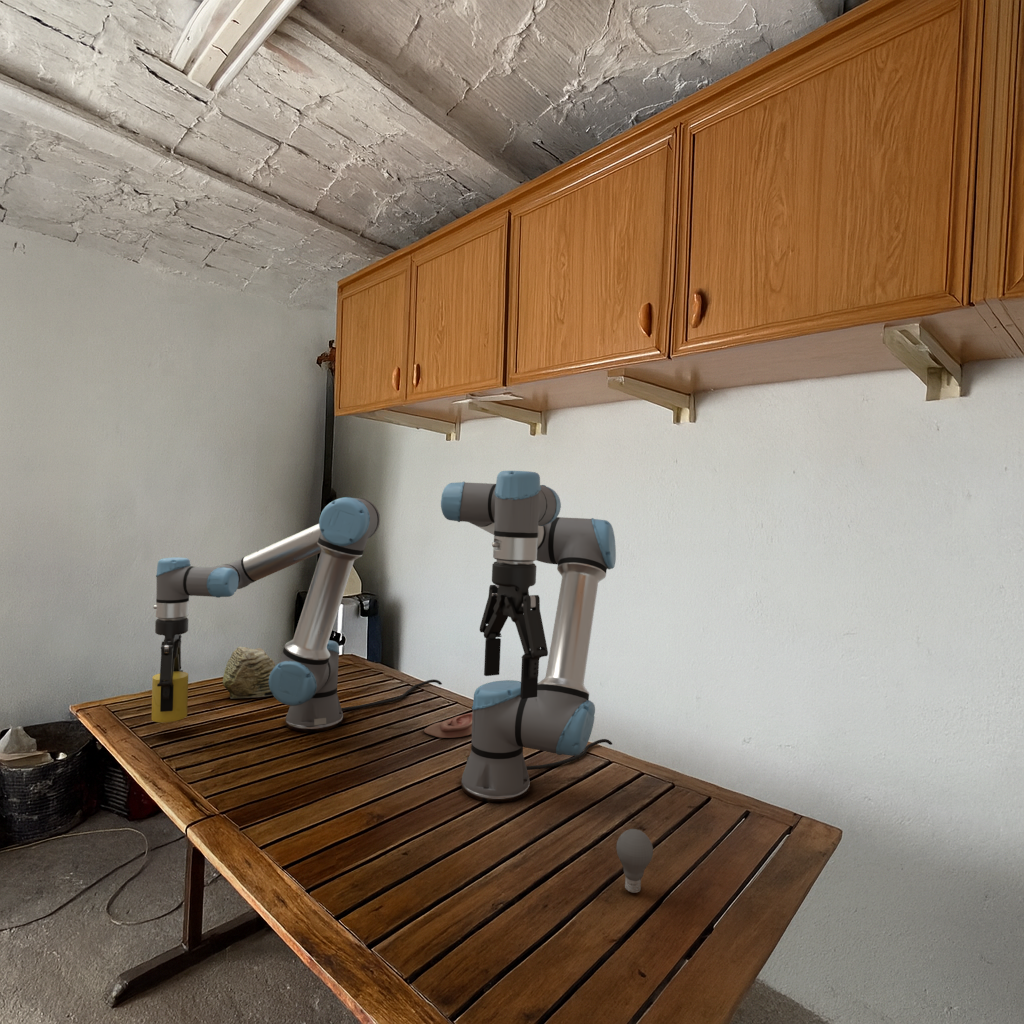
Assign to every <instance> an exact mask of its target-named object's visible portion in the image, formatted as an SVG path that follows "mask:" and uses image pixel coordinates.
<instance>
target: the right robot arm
mask: <svg viewBox="0 0 1024 1024" xmlns="http://www.w3.org/2000/svg"><path fill="white" fill-rule="evenodd" d="M559 496H560V495H559V494H558V493H557V492H556V491H555V490H554V489H553V488H551V487H549V486H547V485H545V484H541V476H540V474H539V473H538V472H536V471H527V470H501V471H499V473H498V474H497V475H496V482H495V483H485V482H483V483H482V482H466V481H461V482H460V481H459V482H458V481H457V482H449V483H448V484H446V485H445V487H444V488H443V490H442V493H441V499H440V509H441V513H442V515H443V517H444V518H445V519H446V520H448V521H453V522H457V523H461V522H465V523H468V524H469V523H470V524H472V525H473V526H476V527H478V528H480V529H482V530H483V531H485V532H487V533H489V534H490V535H492V536H493V542H492V543H491V545H492V548H493V549H492V551H493V553H492V558H493V559H494V560H496V561H494V562H493V563H492V565H491V566H492V569H491V582H492V583H493V584H490V585H489V587H488V597H487V601H486V603H485V607H484V611H483V615H482V619H481V622H480V625H479V632H480V633H483V637H484V639H485V642H484V643H485V644H484V646H485V647H484V664H483V665H484V669H483V676H485V677H491V676H500V670H501V669H500V668H501V667H500V665H501V646H502V645H501V644H502V639H501V638H502V633H501V631H502V630H503V628H504V626H505V624H506V622H507V620H508V618H510V619H511V622H513V623H514V625H515V627H516V631H517V634H518V638H519V640H520V643H521V647H522V651H523V654H522V656H521V670H520V671H521V673H520V680H513V679H512V680H511V679H509V680H508V679H505V680H495V681H491V682H487V683H484V684H481V685H480V686H478V687H477V688H476V689H475V690H474V692H473V700H472V706H471V709H472V712H471V713H472V734H471V744H470V752H469V756H468V757H466V764H465V767H464V770H463V772H462V774H461V790H462V791H463V793H465V794H466V795H468V796H469V797H471V798H473V799H476V800H479V801H481V802H487V803H488V802H489V803H508V802H512V801H517V800H519V799H522V798H523V797H525V796H527V794H528V793H529V791H530V784H531V783H530V782H531V781H530V775H529V771H533V770H542V769H548V768H554V767H558V766H563V765H565V764H568V763H572V762H574V761H577V760H579V759H581V758H583V757H584V756H585V755H586V754H587V753H588V750H589V749H590V748H592V747H594V746H597V745H599V744H603V743H606V744H608V745H610V746H611V745H613V742H612V741H611V740H609V739H608V738H601V739H597V740H595V741H593V742H591V743H589V741H590V738H591V736H592V735H591V734H592V732H593V727H594V723H595V713H596V705H595V704H594V702H593V701H591V700H590V692H589V691H588V689H587V688H586V686H585V678H586V670H587V663H588V656H589V650H590V644H591V637H592V630H593V629H592V628H593V622H594V615H595V608H596V601H597V595H598V588H599V583H600V582H601V581H603V580H604V579H606V577H607V570H613V569H614V568H615V566H616V559H617V549H616V547H617V546H616V537H615V531H614V528H613V525H612V523H611V522H610V521H608V520H606V519H598V518H594V517H592V518H584V517H581V518H580V517H565V516H563V517H562V516H559V515H560V512H561V508H562V502H561V499H560V497H559ZM535 561H537V562H540V563H545V564H548V565H549V564H550V565H557V568H556V570H557V572H558V573H559V574H560V575H561V581H560V587H559V593H558V598H557V599H558V600H557V606H556V613H555V618H554V623H553V629H552V636H551V641H550V647H549V651H548V646H547V645H548V644H547V640H546V635H545V630H544V624H543V618H542V614H541V604H540V603H541V599H540V595H539V594H530V591H529V590H530V589H529V588H531V587H534V586H535V585H536V582H537V565H536V564H535V563H534V562H535ZM543 657H548V659H547V667H546V670H545V671H546V672H545V677H544V678H542V680H540V681H539V671H540V659H541V658H543ZM524 748H526V749H532V750H537V751H541V752H547V753H551V754H556V755H558V756H561V755H563V756H570V758H569V757H568V758H566V759H563V760H559V761H555V762H551V763H545V764H538V765H536V764H535V765H527V764H526V761H525V757H524Z"/></svg>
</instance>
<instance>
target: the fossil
mask: <svg viewBox="0 0 1024 1024" xmlns="http://www.w3.org/2000/svg"><path fill="white" fill-rule="evenodd" d="M276 665H277V664H276V663H275V662H274V660H273V659H272V658H271V657H270V656H269V655H268V654H267V653H266V652H265V650H264V649H263V648H260V647H258V648H251V647H247V646H246V647H245V646H238V647H237V648H236V649H235V650H233V651H232V653H231V656H230V657H229V659H228V660H227V663H226V666H225V668H224V671H223V675H222V676H223V677H222V685H223V687H224V688H225V690H226V691H228V693H229V698H230V699H250V698H264V697H271V696H272V697H273V694H272V692H271V691H270V688H269V676H270V673H271V672H272V670H273V668H274V667H275V666H276Z"/></svg>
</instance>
